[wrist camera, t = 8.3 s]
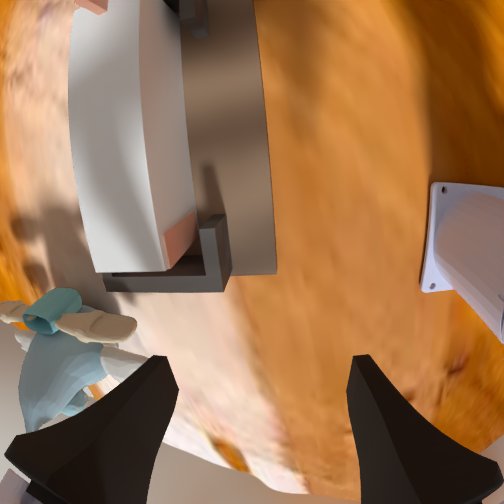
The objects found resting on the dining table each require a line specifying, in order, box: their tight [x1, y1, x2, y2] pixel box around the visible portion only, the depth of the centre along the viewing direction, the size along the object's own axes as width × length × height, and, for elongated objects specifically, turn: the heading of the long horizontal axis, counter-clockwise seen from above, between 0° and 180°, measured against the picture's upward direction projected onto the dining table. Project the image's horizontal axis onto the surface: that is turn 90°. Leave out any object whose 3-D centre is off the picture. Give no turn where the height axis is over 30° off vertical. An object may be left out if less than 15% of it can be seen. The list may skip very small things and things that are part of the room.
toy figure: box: [0, 287, 149, 433], centre depth 15 cm, size 17×10×15 cm, turn 94°
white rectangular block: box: [68, 0, 199, 273], centre depth 11 cm, size 14×4×8 cm, turn 5°
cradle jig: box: [100, 0, 277, 293], centre depth 14 cm, size 19×13×4 cm
